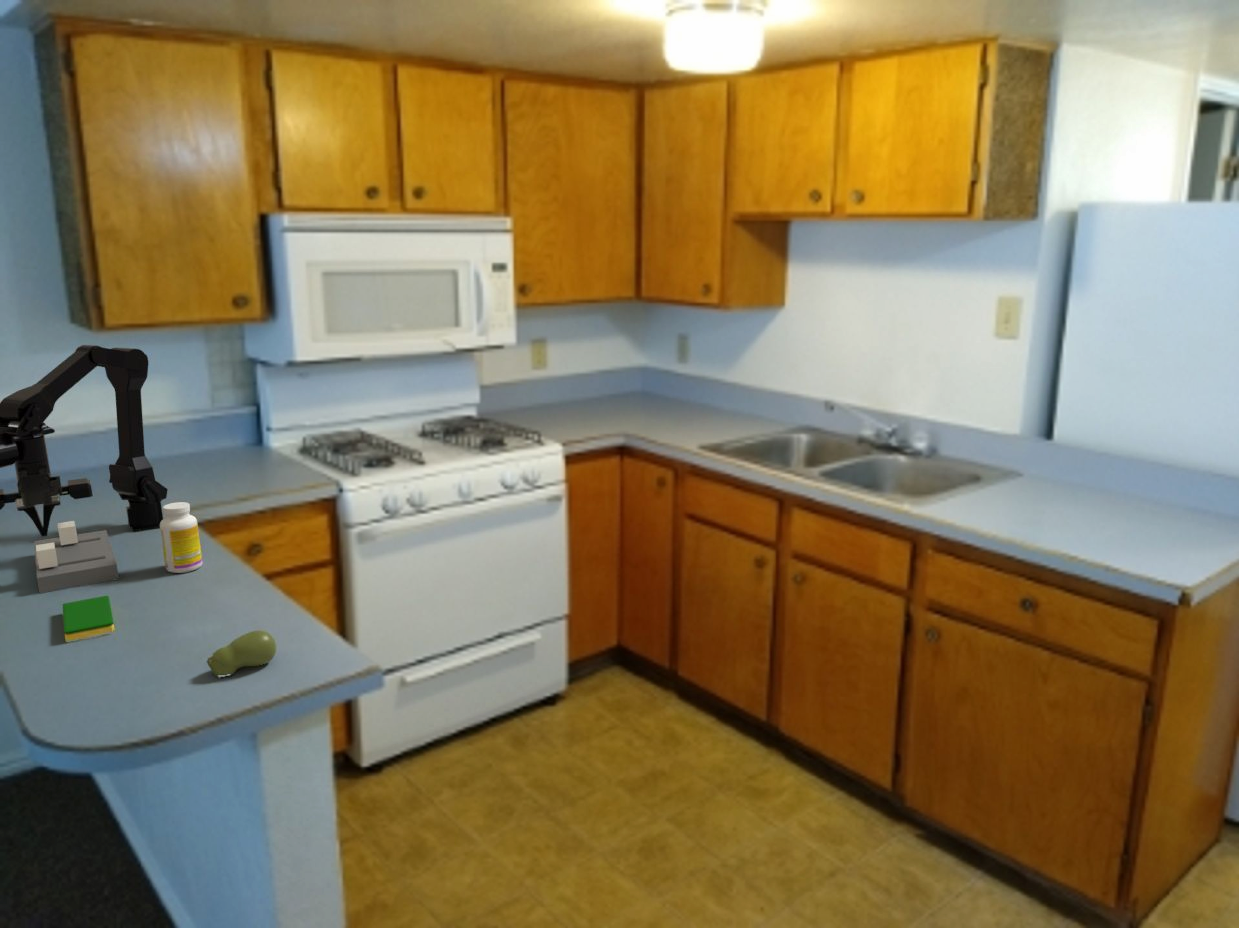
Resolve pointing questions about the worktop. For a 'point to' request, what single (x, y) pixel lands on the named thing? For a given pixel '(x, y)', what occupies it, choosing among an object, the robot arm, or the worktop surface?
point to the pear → (243, 653)
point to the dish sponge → (87, 618)
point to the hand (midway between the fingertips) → (44, 535)
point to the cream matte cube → (67, 532)
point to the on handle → (46, 555)
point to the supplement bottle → (180, 539)
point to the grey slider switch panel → (78, 563)
